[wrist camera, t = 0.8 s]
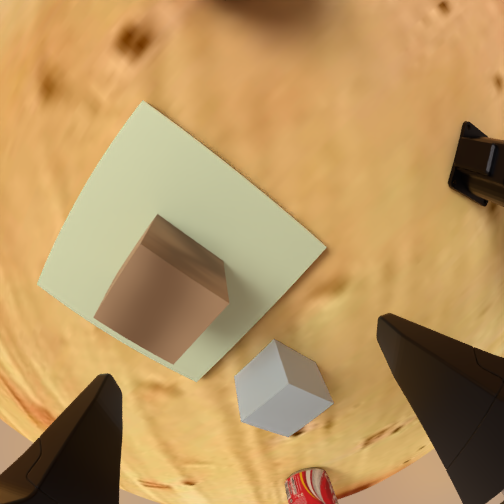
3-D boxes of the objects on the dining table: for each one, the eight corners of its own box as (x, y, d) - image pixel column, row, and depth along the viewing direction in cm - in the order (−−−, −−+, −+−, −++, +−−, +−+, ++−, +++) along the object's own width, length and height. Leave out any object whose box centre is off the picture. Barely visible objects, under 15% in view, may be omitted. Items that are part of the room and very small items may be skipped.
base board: (322, 242, 22) (326, 247, 22) (196, 374, 26) (196, 382, 25) (145, 101, 17) (142, 100, 16) (42, 278, 20) (36, 284, 19)
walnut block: (223, 260, 21) (229, 303, 16) (178, 314, 22) (173, 364, 17) (157, 213, 19) (140, 243, 14) (116, 274, 20) (93, 317, 15)
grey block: (315, 361, 27) (334, 403, 22) (276, 394, 28) (288, 437, 23) (273, 338, 25) (288, 383, 20) (234, 375, 27) (240, 421, 22)
